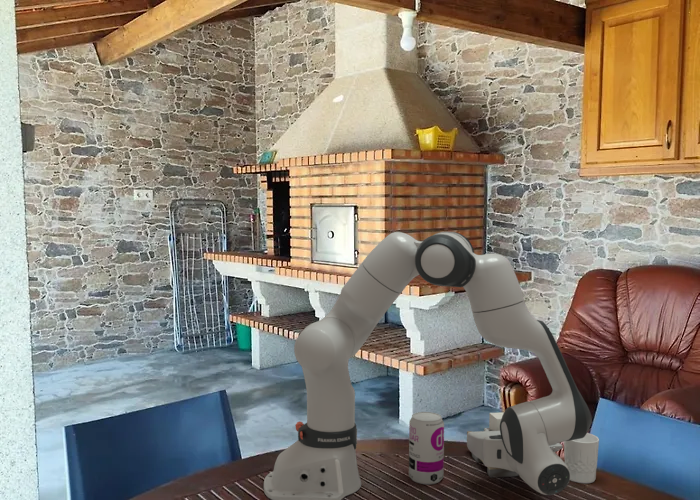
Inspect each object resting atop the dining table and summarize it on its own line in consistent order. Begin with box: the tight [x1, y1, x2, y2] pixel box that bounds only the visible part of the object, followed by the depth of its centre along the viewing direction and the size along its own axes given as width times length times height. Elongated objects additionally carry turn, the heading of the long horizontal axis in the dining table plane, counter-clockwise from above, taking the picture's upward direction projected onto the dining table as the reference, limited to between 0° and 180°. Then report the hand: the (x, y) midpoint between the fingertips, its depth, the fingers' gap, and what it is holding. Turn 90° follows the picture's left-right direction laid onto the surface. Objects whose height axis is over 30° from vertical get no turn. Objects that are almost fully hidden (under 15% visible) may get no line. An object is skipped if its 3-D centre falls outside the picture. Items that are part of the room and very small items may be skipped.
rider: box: [488, 411, 505, 431], centre depth 152 cm, size 4×5×10 cm
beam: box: [466, 430, 519, 478], centre depth 158 cm, size 8×17×6 cm, turn 8°
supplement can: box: [408, 411, 445, 485], centre depth 148 cm, size 8×8×15 cm
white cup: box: [563, 432, 600, 484], centre depth 150 cm, size 8×8×10 cm
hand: (499, 430), depth 153 cm, fingers open, 5 cm apart
